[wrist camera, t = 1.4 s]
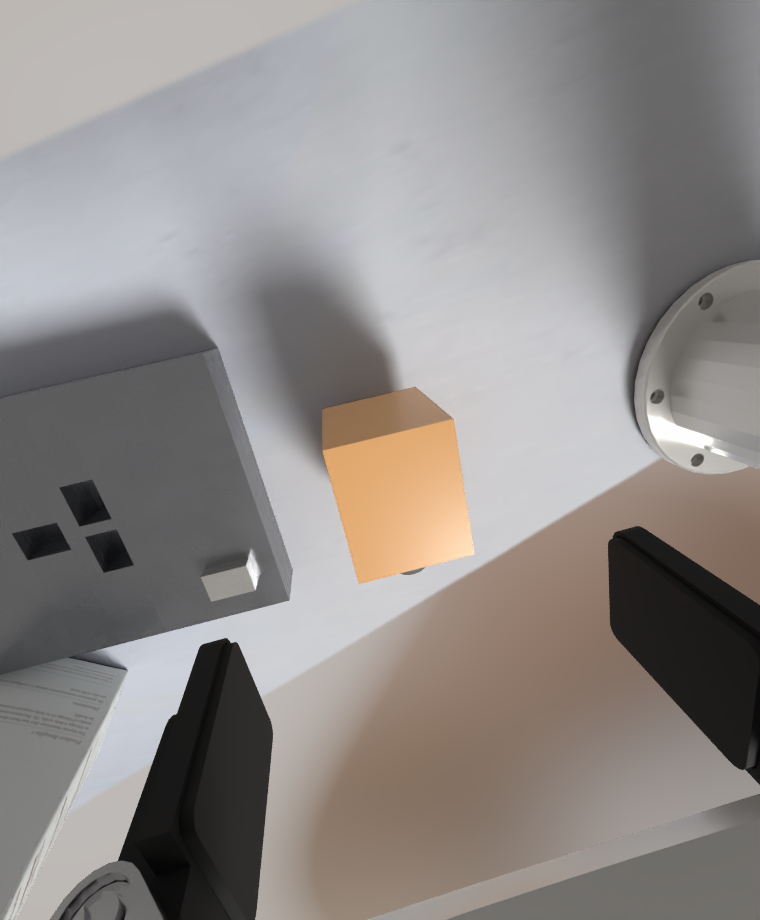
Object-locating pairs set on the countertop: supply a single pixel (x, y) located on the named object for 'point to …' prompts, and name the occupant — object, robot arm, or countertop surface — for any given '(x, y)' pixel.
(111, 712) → the supplement box
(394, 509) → the orange block
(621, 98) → the countertop surface
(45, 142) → the countertop surface
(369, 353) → the countertop surface
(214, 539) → the dark gray rectangular board
